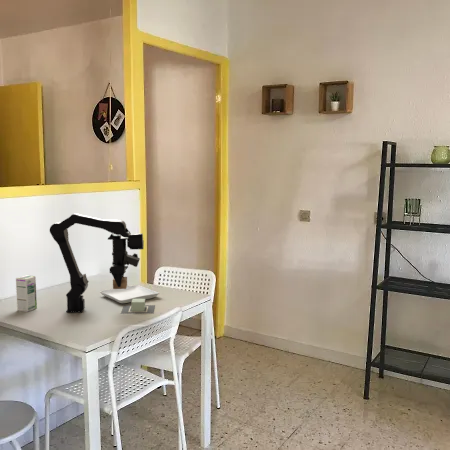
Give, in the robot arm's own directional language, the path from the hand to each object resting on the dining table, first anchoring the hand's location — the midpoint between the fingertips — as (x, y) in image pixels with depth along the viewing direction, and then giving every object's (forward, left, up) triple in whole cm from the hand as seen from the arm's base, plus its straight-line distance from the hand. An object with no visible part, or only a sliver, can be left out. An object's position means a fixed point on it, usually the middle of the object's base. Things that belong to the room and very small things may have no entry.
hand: (120, 284), depth 210 cm
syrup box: (-40, +2, -12) cm, 42 cm away
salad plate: (+2, +20, -12) cm, 23 cm away
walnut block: (0, 0, -1) cm, 1 cm away
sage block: (+8, 0, -11) cm, 14 cm away
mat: (+8, 0, -11) cm, 14 cm away
